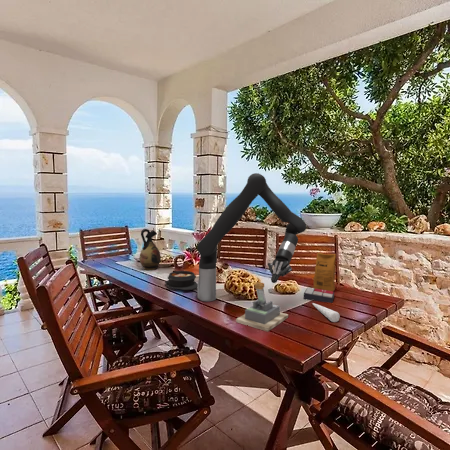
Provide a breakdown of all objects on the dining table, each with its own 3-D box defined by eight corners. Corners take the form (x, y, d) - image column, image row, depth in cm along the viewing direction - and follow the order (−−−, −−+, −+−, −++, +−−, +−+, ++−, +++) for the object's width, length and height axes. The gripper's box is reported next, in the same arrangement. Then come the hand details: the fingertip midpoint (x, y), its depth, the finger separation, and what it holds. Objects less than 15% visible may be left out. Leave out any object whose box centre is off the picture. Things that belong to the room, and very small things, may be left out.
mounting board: (258, 309, 159) (258, 306, 159) (288, 317, 150) (288, 314, 150) (236, 322, 144) (236, 318, 144) (267, 331, 135) (267, 328, 134)
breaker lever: (261, 304, 149) (256, 281, 144) (268, 305, 146) (264, 283, 142) (258, 307, 147) (253, 284, 142) (265, 309, 145) (261, 286, 140)
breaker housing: (261, 309, 155) (261, 295, 155) (279, 314, 149) (280, 299, 149) (245, 318, 144) (245, 303, 143) (264, 324, 138) (264, 308, 138)
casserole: (157, 285, 198) (157, 272, 197) (181, 280, 211) (181, 267, 210) (181, 295, 180) (181, 280, 180) (207, 288, 193) (207, 274, 192)
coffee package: (315, 286, 200) (316, 250, 197) (336, 289, 194) (338, 252, 191) (311, 290, 191) (312, 253, 189) (332, 293, 185) (334, 255, 183)
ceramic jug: (154, 265, 252) (154, 227, 249) (164, 269, 240) (164, 228, 237) (134, 268, 241) (133, 228, 238) (143, 272, 229) (142, 230, 226)
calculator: (332, 296, 169) (303, 291, 175) (332, 304, 170) (303, 299, 176) (334, 291, 179) (307, 286, 185) (333, 298, 180) (306, 293, 186)
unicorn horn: (319, 304, 169) (319, 295, 168) (340, 322, 145) (340, 312, 145) (310, 304, 168) (310, 295, 168) (329, 323, 145) (330, 312, 144)
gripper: (271, 246, 163) (258, 275, 154) (295, 249, 155) (283, 280, 146) (276, 255, 167) (263, 283, 159) (300, 258, 159) (288, 288, 151)
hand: (273, 282), depth 153 cm, fingers closed
